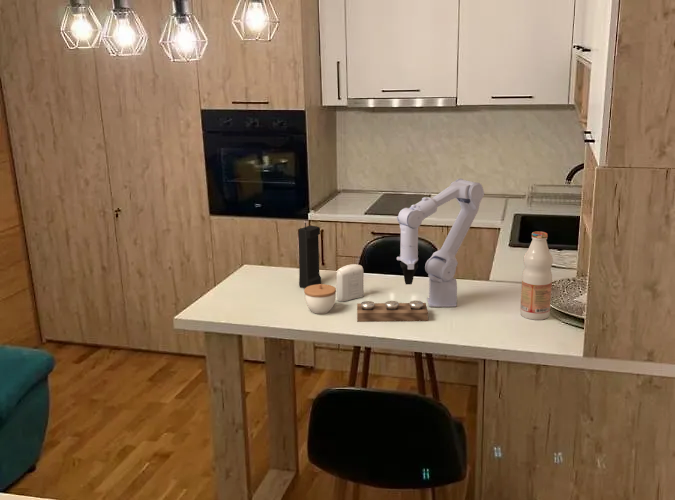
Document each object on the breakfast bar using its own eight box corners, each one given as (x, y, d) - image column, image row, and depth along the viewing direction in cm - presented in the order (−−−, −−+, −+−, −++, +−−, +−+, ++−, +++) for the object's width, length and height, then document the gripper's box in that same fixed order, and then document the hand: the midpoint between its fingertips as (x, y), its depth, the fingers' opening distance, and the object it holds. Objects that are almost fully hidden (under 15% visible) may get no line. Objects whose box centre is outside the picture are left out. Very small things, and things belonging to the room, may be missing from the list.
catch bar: (425, 311, 244) (425, 302, 243) (427, 321, 236) (428, 312, 235) (357, 311, 245) (357, 303, 244) (357, 321, 236) (357, 313, 236)
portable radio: (310, 281, 277) (308, 217, 270) (323, 284, 273) (321, 219, 266) (297, 287, 271) (295, 222, 264) (310, 290, 267) (308, 224, 260)
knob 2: (422, 312, 242) (422, 300, 241) (423, 317, 238) (423, 305, 237) (409, 313, 242) (409, 300, 241) (409, 317, 238) (410, 305, 237)
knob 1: (374, 313, 243) (374, 300, 241) (374, 318, 238) (374, 305, 237) (361, 313, 243) (361, 301, 241) (361, 318, 238) (361, 305, 237)
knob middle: (398, 313, 242) (398, 300, 241) (398, 317, 238) (399, 305, 237) (385, 313, 242) (385, 300, 241) (385, 318, 238) (385, 305, 237)
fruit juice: (515, 316, 238) (519, 234, 230) (526, 308, 245) (531, 228, 237) (543, 322, 233) (548, 238, 225) (553, 313, 240) (559, 231, 232)
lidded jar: (337, 305, 252) (336, 279, 249) (335, 316, 241) (334, 289, 239) (306, 305, 252) (305, 279, 250) (303, 316, 242) (302, 289, 240)
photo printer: (358, 293, 263) (358, 261, 259) (365, 296, 259) (365, 263, 256) (334, 299, 257) (334, 266, 254) (341, 302, 254) (341, 269, 250)
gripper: (395, 239, 245) (394, 277, 249) (398, 250, 231) (398, 291, 235) (416, 238, 245) (415, 276, 249) (420, 250, 231) (420, 290, 235)
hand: (408, 283), depth 242 cm, fingers closed
